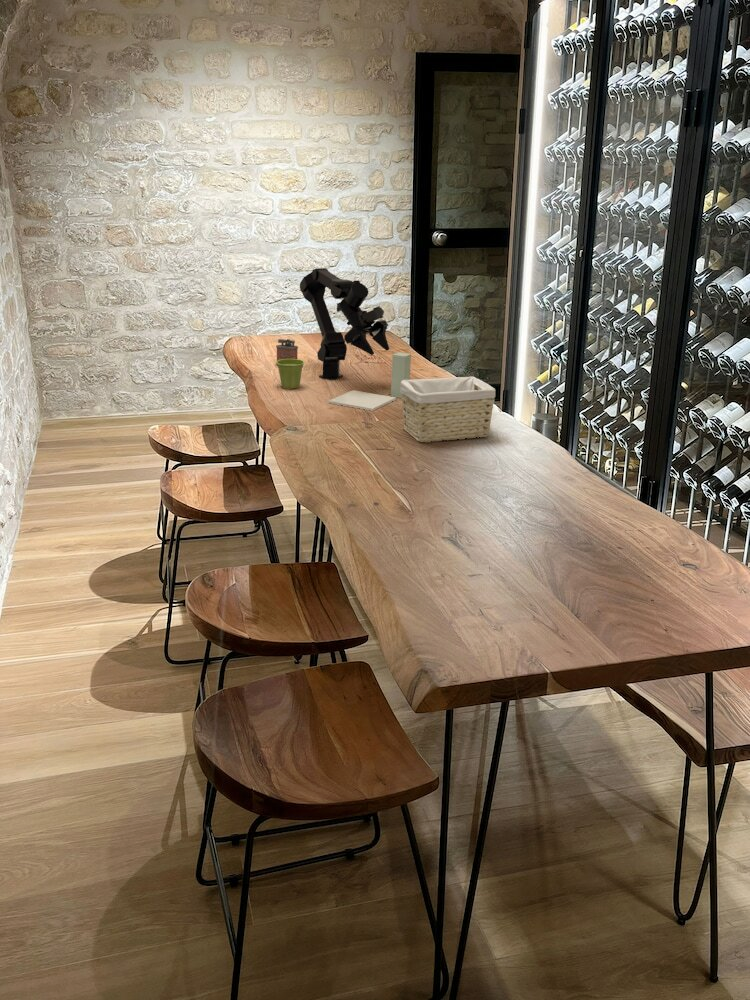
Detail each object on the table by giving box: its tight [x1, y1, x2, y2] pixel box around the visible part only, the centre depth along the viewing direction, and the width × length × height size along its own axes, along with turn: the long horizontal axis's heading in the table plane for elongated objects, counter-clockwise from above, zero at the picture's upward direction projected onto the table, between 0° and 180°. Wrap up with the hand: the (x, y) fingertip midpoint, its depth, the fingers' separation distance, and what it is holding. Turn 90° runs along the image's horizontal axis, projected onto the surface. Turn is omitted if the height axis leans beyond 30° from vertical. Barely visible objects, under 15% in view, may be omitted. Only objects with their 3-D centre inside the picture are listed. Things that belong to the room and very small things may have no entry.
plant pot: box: [275, 358, 305, 390], centre depth 292 cm, size 9×9×9 cm
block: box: [390, 351, 412, 399], centre depth 285 cm, size 4×4×14 cm
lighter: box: [275, 338, 299, 367], centre depth 320 cm, size 8×3×10 cm, turn 84°
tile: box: [327, 389, 397, 412], centre depth 279 cm, size 16×16×1 cm
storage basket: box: [400, 376, 496, 443], centre depth 248 cm, size 24×16×15 cm
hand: (380, 352), depth 286 cm, fingers open, 9 cm apart
